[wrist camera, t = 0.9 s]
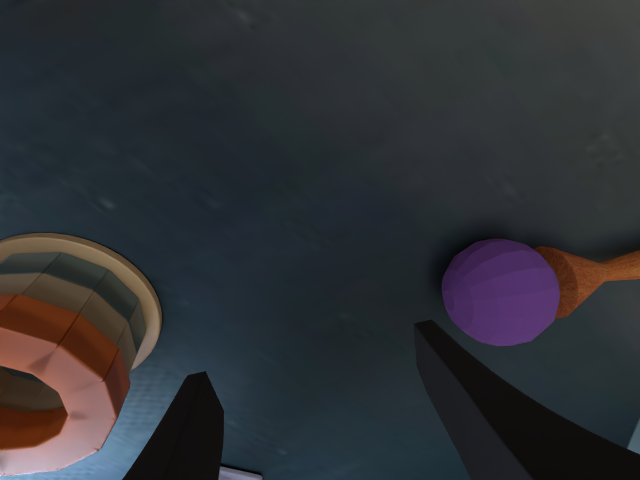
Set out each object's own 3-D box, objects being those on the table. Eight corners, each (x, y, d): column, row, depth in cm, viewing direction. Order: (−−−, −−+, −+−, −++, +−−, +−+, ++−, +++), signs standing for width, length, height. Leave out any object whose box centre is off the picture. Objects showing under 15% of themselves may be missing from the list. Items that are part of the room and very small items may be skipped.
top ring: (94, 452, 21) (79, 489, 19) (-110, 410, 18) (-150, 450, 16) (155, 337, 18) (144, 369, 16) (-79, 261, 15) (-125, 291, 13)
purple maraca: (757, 312, 24) (463, 377, 21) (670, 251, 28) (419, 297, 25) (837, 237, 20) (493, 304, 17) (721, 182, 24) (434, 226, 21)
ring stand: (128, 394, 25) (102, 461, 21) (-55, 345, 22) (-127, 415, 18) (189, 278, 22) (173, 332, 18) (-16, 198, 18) (-95, 243, 14)
